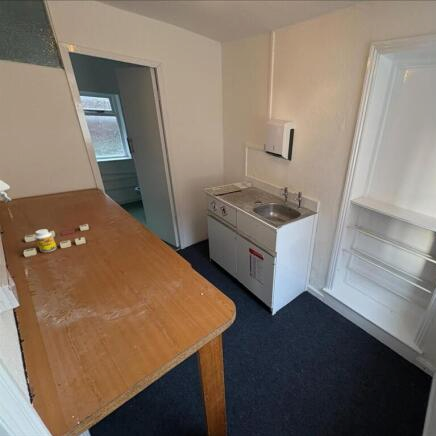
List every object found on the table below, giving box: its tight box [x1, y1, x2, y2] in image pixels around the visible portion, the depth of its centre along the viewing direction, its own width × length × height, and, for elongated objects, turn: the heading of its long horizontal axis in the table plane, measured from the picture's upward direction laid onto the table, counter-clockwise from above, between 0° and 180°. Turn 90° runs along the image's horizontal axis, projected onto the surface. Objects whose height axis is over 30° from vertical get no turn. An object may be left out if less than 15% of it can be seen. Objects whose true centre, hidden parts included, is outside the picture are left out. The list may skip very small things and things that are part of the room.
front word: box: [23, 236, 87, 258], centre depth 112 cm, size 21×4×2 cm, turn 132°
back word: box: [24, 223, 90, 243], centre depth 124 cm, size 25×5×2 cm, turn 132°
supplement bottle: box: [34, 228, 58, 253], centre depth 109 cm, size 6×6×10 cm
